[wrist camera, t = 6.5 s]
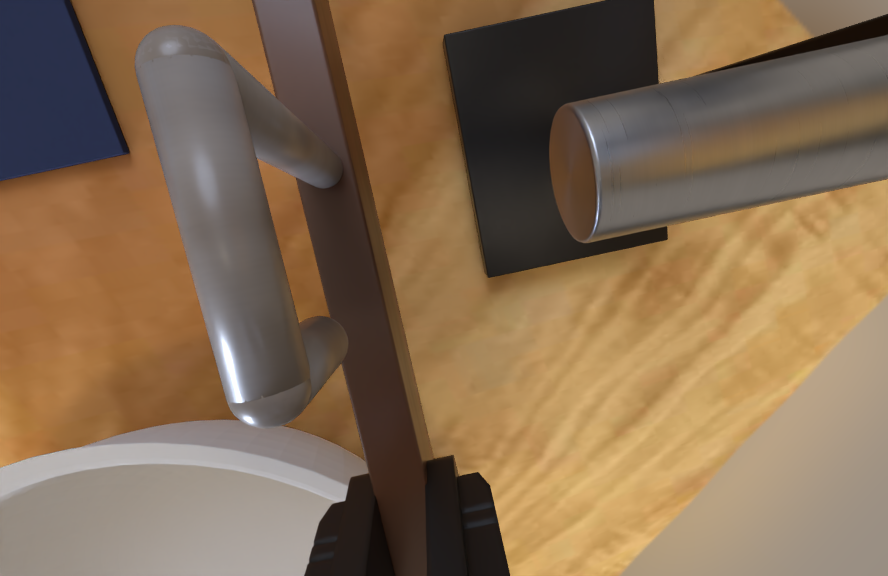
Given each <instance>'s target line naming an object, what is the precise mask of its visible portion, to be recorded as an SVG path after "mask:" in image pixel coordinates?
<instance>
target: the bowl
mask: <svg viewBox="0 0 888 576" xmlns="http://www.w3.org/2000/svg"><path fill="white" fill-rule="evenodd" d="M367 473H369V472H368V468H367V464H366V461H364V460H363V459H361V458H360V457H358V456H357V455H355V454H353V453H351V452H350V451H348V450H346V449H344V448H342V447H341V446H339V445H337V444H334V443H332V442H330V441H328V440H325V439H323V438H321V437H318V436H315V435H312V434H309V433H306V432H303V431H300V430H297V429H293V428H288V427H284V426H279V427H276V428H270V429H263V428H256V427H252V426H249V425H247V424H245V423H243V422H242V421H240V420H201V421H189V422H181V423H173V424H166V425H160V426H155V427H150V428H146V429H141V430H137V431H132V432H128V433H124V434H120V435H117V436H113V437H110V438H107V439H104V440H101V441H98V442H95V443H92V444H89V445H86V446H83V447H80V448H72V449H67V450H62V451H58V452H54V453H49V454H45V455H40V456H36V457H31V458H28V459H25V460H22V461H19V462H16V463H13V464H10V465H7V466H4V467H1V468H0V576H304V575H305V571H306V568H307V564H309V557H310V553H311V550H312V547H313V546H314V543H313V542H314V539H315V535H316V532H317V528H318V524H319V522H320V520H321V519H322V517H323V516H324V515H325V513H326V512H327V510H328V509H329V507H330V506H331V505H332V504H333V503H338V502H342V501H345V499H346V495H347V490H348V485H349V481H350V478H351V477H353V476H358V475H363V474H367Z"/></svg>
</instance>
